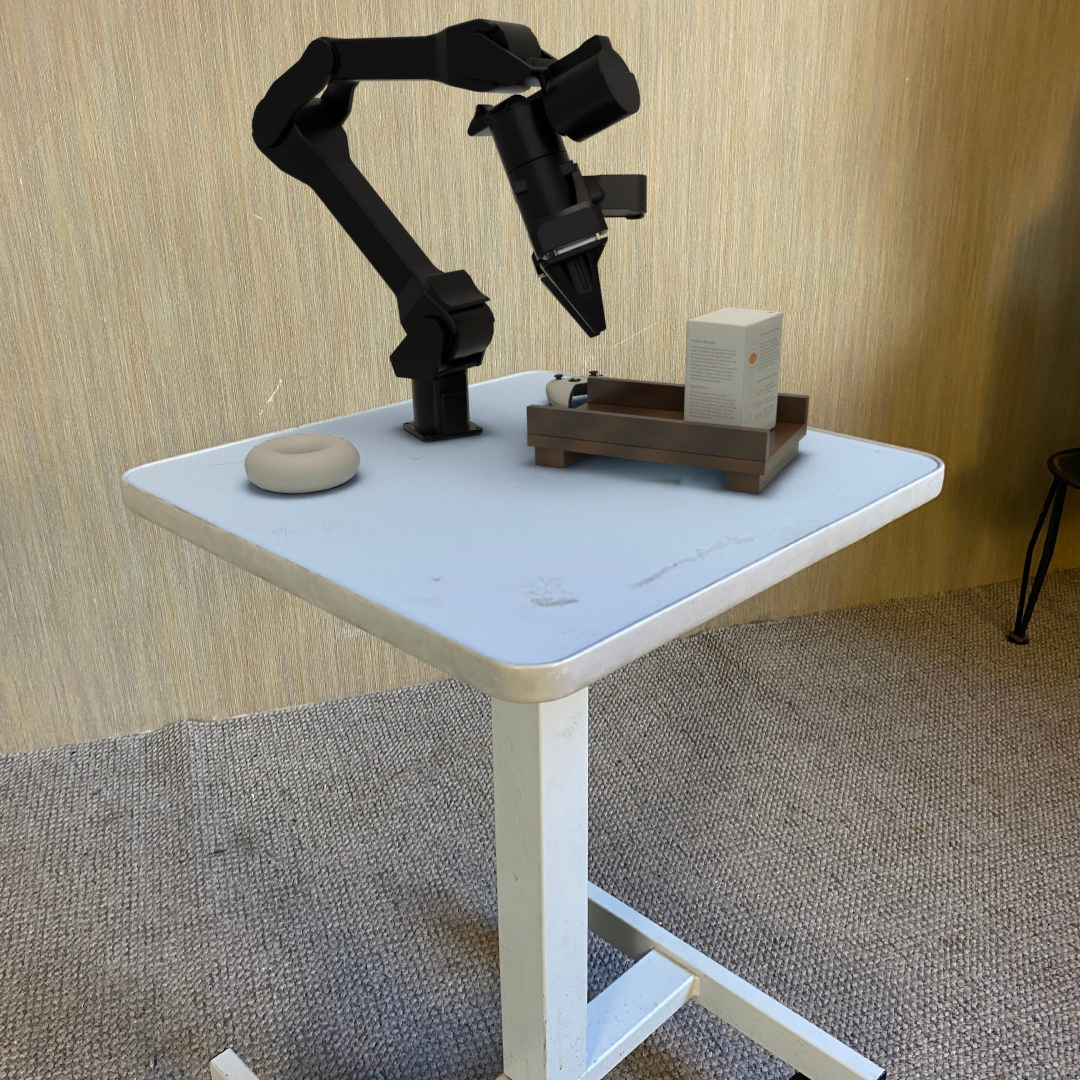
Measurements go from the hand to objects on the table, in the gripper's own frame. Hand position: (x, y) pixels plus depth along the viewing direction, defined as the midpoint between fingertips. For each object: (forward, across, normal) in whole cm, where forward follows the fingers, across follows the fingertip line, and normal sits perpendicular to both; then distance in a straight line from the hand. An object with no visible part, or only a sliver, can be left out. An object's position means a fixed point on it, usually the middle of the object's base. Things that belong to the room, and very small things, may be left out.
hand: (598, 334), depth 94 cm
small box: (+13, -2, -8) cm, 15 cm away
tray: (+13, +1, -2) cm, 13 cm away
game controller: (+6, +22, +3) cm, 23 cm away
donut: (+3, -4, +29) cm, 29 cm away
